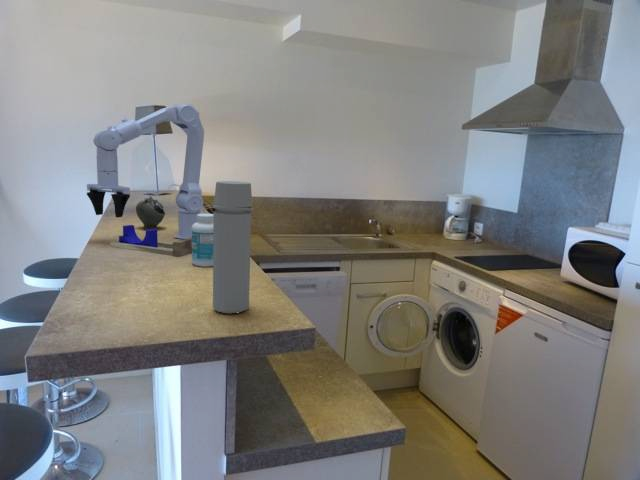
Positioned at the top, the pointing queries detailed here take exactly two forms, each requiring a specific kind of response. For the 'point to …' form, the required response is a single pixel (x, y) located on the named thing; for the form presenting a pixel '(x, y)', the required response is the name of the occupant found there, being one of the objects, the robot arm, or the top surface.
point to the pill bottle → (202, 241)
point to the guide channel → (178, 248)
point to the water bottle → (231, 246)
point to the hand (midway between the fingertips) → (109, 215)
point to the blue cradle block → (132, 238)
